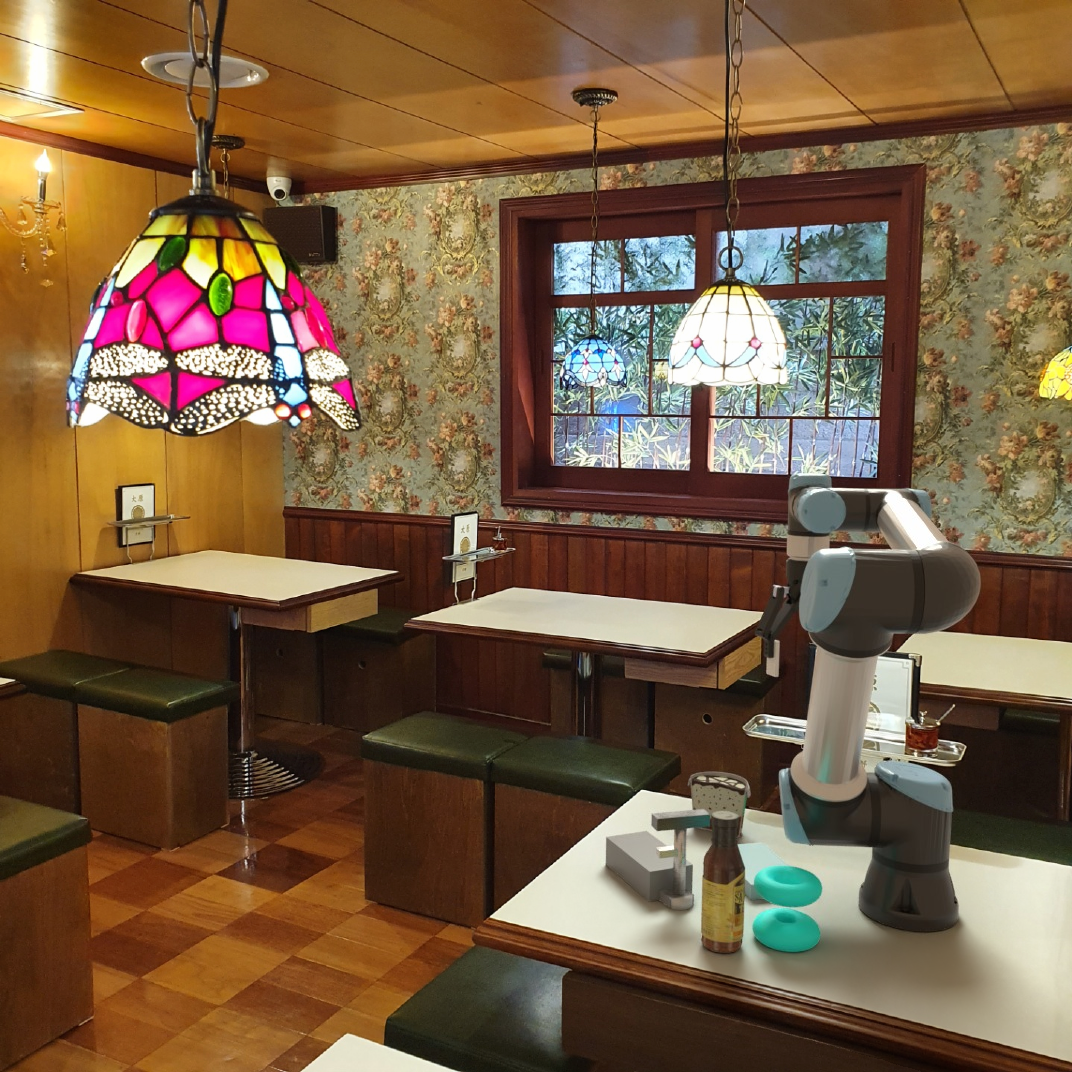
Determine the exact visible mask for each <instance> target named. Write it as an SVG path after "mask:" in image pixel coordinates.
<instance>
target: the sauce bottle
mask: <svg viewBox="0 0 1072 1072" xmlns="http://www.w3.org/2000/svg"><path fill="white" fill-rule="evenodd" d="M711 824H712V831H711V841H710V842H711V845H710V846H709V848H708V849H707V851H706V852H705V855H704V856H703V863H702V865H703V870H702V878H701V879H702V880H701V882H702V884H701V885H702V886H701V919H700V923H701V924H700V925H701V927H700V932H701V943H702V945H703V947H705V948H706V949H708V950H710V951H712V952H714V953H721V954H729V953H734V952H737V951H739V950H740V949H741V948H742V946H743V938H744V930H745V929H744V927H745V921H744V920H745V898H746V897H745V896H746V894H745V866H744V863H743V860H742V857H741V854H740V850H739V847H738V844H739V843H738V842H739V840H738V837H737V833H738V831H737V828H738V825H739V816H738V815H737V814H736V813H733V812H729V811H717V812H713V813H712V815H711Z"/></svg>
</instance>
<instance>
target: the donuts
mask: <svg viewBox="0 0 1072 1072" xmlns="http://www.w3.org/2000/svg"><path fill="white" fill-rule="evenodd" d="M754 887H755V889H756V891H757V893H758V894H759V895H760V896H761V897H762V898H763V899H764V900H765V901H767V902H768V903H770V904H773V905H776V906H780V907H775V908H770V909H767V910H764V911H762V912H760V913H758V915H756V917H755V918H754V920H753V923H752V925H751V926H752V928H751V929H752V933H753V935H754V937H755V938H756V939H757V940H758V941H759V942H760V943H761V944H763V945H764V946H765V947H768V948H771V949H772V950H776V951H780V952H787V953H789V952H790V953H796V952H797V953H799V952H805V951H808V950H810V949H813V948H814V947H815V946H816V945H817V944H818V943H819V942H820V939H821V929H820V926H819V925H818V923H817V921H815V919H813V918H812V917H811V916H810V915H808V914H806V913H805V912H802V911H799V910H797V909H792V908H803V907H807V906H810V905H812V904H815V902H817V901H818V900H819V899H820V897H822V893H823V885H822V882H821V880H820V879H819V877H817V875H816V874H814V873H813V872H811V871H809V870H807V869H804V868H801V867H796V866H792V865H789V866H783V865H779V866H770V867H767V868H764V869H762V870H761V871H759V872H758V873H757V874H756V876H755V879H754Z"/></svg>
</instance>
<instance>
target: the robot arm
mask: <svg viewBox="0 0 1072 1072" xmlns="http://www.w3.org/2000/svg"><path fill="white" fill-rule="evenodd" d="M788 483H789V484H788V490H787V495H788V504H787V505H788V507H787V508H788V511H787V512H788V513H787V515H788V516H787V533H786V535H787V537H786V555H787V556H788V557H789V558H787V559H786V561H785V577H786V580H787V582H786V585H785V586H781V585H776V584H773V585H771V587H770V589H771V590H770V595H769V598H768V601H767V603H766V605H765V608H764V611H763V613H762V614H761V617H760V619H759V621H758V623H757V626H756V629H755V630H754V635H755V636H756V637H759V638H762V639H763V656H764V658H766V670H765V671H766V674H767V675H769V676H772V677H774V678H778V677H779V674H780V673H779V672H780V671H779V669H780V647H781V646H780V640H778V639H777V638H778V636H779V635H780V634H781V632H783V630H784V628H785V627H786V626H787V624H788V623H789V622H790V620H791V618H792V617H793V616H794V615H795V613H799V614H798V615H799V616H798V617H799V623H800V624H801V627H802V628H803V629H804V630H805V631H806V632H807V631H808V632H807V633H808V635H809V638H810V640H811V642H812V643H813V645H815V647H816V651H815V658H814V665H813V673H812V674H813V675H812V679H811V680H812V681H811V687H810V696H809V704H808V710H807V717H806V719H807V720H806V726H805V733H804V739H803V740H804V742H803V747H802V748H803V749H802V751H800V752H799V753H797V755H795V757H794V758H793V760H792V762H791V766H790V767H786V768H782V769H780V770H779V772H778V783H779V785H778V786H779V796H780V806H781V807H780V808H781V816H782V825H783V830H784V835H785V837H786V839H787V840H788V841H790V842H791V843H793V844H799V845H808V846H810V847H811V846H813V847H815V846H820V847H821V846H825V847H848V848H849V847H851V848H856V847H857V848H871V859H870V862H869V865H868V867H867V870H866V874H865V878H864V881H863V882H862V883H861V885H860V887H859V892H858V902H857V904H858V907H859V909H860V911H861V912H862V913H863V914H865V915H866V916H867V917H868V918H869V919H871V920H874V921H875V922H877V923H880V924H883V925H885V926H888V927H891V928H896V929H899V930H905V931H911V932H924V933H925V932H939V931H944V930H947V929H949V928H952V927H953V926H954V925H956V923H957V922H958V920H959V910H960V909H959V908H960V907H959V906H960V905H959V901H958V897H957V896H956V891H955V887H954V883H953V879H952V876H951V873H950V854H951V853H950V852H951V851H950V850H951V849H950V848H951V831H952V814H953V813H952V812H954V806H953V805H954V804H953V789H952V784H951V782H950V781H949V780H948V779H947V778H946V777H945V776H944V775H942V774H941V773H939V772H937V771H935V770H934V769H931V768H928V767H925V766H922V765H919V764H915V763H910V762H906V761H901V760H900V761H898V760H885V761H884V760H882V761H878V762H877V763H876V765H875V767H874V771H873V772H871V771H870V772H867V771H866V769H865V767H864V765H863V764H862V763H861V760H862V759H861V757H862V752H863V747H864V746H863V745H864V740H865V736H866V735H865V733H866V728H867V724H868V723H867V722H868V718H869V717H868V716H869V711H870V704H871V699H872V693H873V689H874V687H873V686H874V681H875V676H876V675H875V674H876V670H877V665H878V664H877V663H878V658H879V657H880V656H882V655H884V654H886V652H888V651H889V649H890V647H891V646H892V644H893V640H894V639H893V638H894V634H901V635H902V634H906V635H907V634H908V635H911V634H912V635H928V634H933V633H938V632H940V631H943V630H947V629H948V628H950V627H952V626H954V625H955V624H957V623H958V622H960V621H962V620H963V618H964V617H966V615H968V613H970V612H971V611H972V609H973V607H974V606H975V604H976V603H977V601H978V598H979V595H980V591H981V583H982V582H981V573H980V570H979V568H978V564H977V562H976V561H975V560H974V558H973V557H972V556H971V555H970V553H969V552H968V551H966V549H964V548H963V547H962V546H961V545H958V544H957V543H954V542H950V541H949V540H948V539H947V538H946V537H945V535H944V534H943V532H941V531H940V529H939V528H938V527H937V526H936V525H935V524H934V523H933V521H932V515H933V508H932V507H933V506H932V501H931V496H930V495H929V493H928V492H927V491H926V490H923V489H913V488H909V487H904V488H851V487H850V488H847V487H832V478H831V476H830V475H829V474H826V473H825V474H824V473H803V472H802V473H794V474H792V475H791V476H790V478H789V482H788ZM832 532H840V533H846V532H848V533H880V534H881V535H882V536H883V538H884V539H885V541H886V542H887V544H888V545H889V547H890V548H891V549H884V548H883V549H881V548H880V549H877V548H876V549H875V548H874V549H873V548H851V547H848V546H842V547H840V548H839V547H838V548H830V541H831V540H830V533H832ZM785 598H786V599H785ZM784 599H785V600H784ZM781 606H782V607H781Z"/></svg>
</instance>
